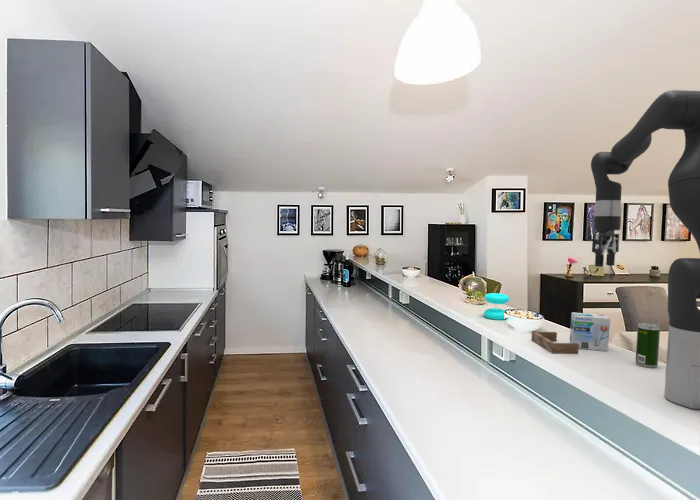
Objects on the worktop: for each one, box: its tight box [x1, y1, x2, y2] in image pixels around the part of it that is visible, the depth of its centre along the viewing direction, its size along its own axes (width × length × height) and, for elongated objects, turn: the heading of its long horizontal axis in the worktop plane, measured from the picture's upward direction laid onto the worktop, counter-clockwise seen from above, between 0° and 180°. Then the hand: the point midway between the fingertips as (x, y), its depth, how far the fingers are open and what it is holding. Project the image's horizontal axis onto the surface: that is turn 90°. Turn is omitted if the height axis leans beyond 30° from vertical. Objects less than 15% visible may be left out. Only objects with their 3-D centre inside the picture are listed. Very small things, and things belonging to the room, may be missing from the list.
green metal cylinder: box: [635, 322, 661, 369], centre depth 128 cm, size 5×5×12 cm
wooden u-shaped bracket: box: [530, 331, 580, 355], centre depth 146 cm, size 15×8×3 cm, turn 1°
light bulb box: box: [569, 312, 611, 352], centre depth 146 cm, size 11×7×11 cm, turn 73°
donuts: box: [483, 292, 510, 321], centre depth 189 cm, size 10×10×10 cm
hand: (604, 266), depth 142 cm, fingers open, 8 cm apart
